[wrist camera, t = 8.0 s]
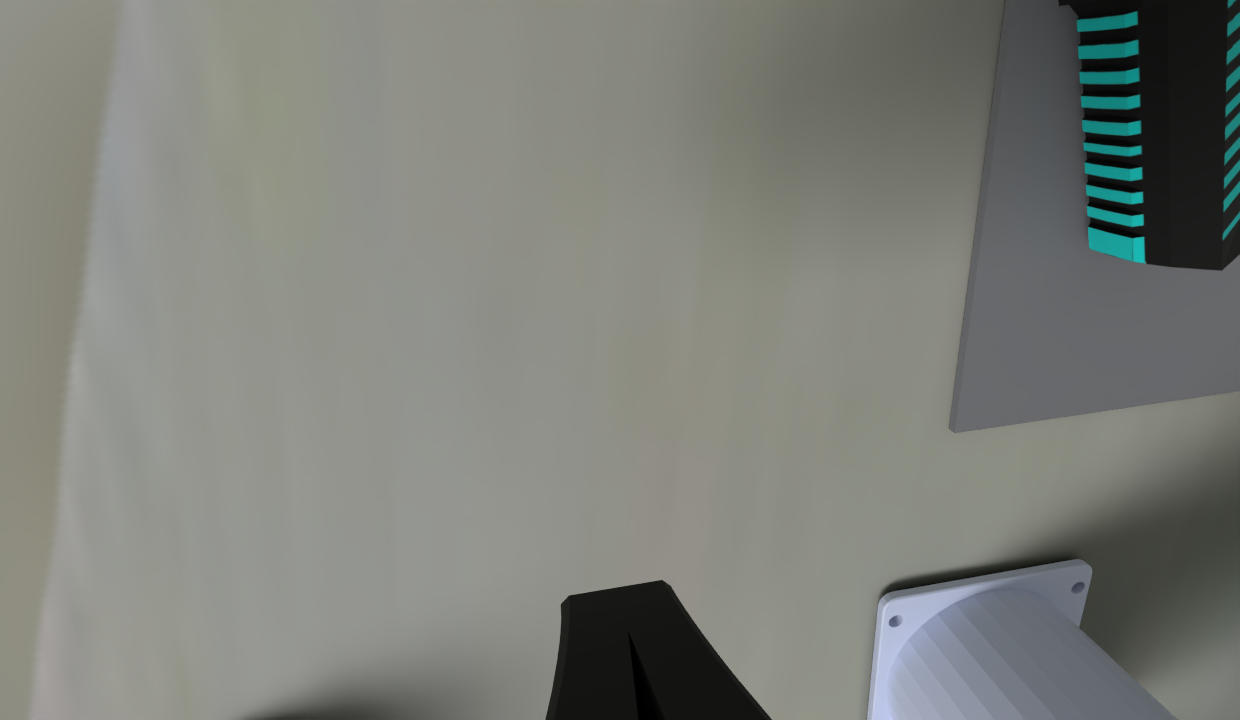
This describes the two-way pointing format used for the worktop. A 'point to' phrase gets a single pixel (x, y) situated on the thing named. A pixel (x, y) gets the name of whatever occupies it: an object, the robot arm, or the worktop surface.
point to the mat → (1071, 265)
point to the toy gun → (1162, 129)
